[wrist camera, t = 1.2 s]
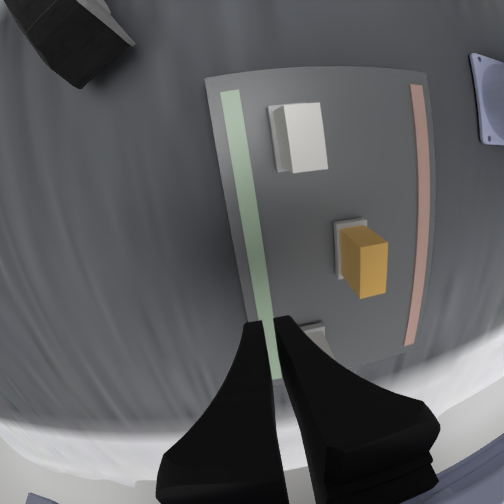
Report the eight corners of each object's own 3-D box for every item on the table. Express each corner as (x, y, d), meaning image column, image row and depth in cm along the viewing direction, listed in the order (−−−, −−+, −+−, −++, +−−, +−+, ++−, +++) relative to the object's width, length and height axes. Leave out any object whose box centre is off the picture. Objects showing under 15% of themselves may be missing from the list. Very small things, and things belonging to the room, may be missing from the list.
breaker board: (410, 75, 16) (427, 72, 14) (407, 335, 24) (418, 349, 22) (206, 84, 16) (204, 77, 14) (258, 371, 24) (261, 389, 22)
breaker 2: (322, 322, 20) (338, 354, 17) (323, 359, 21) (336, 392, 18) (294, 328, 20) (306, 362, 17) (297, 365, 21) (307, 398, 18)
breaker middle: (363, 217, 17) (391, 236, 14) (364, 270, 19) (388, 296, 15) (333, 222, 17) (356, 242, 14) (335, 276, 19) (356, 304, 15)
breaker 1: (303, 103, 15) (323, 95, 11) (311, 166, 16) (332, 175, 13) (266, 106, 15) (277, 98, 11) (276, 171, 16) (289, 180, 13)
